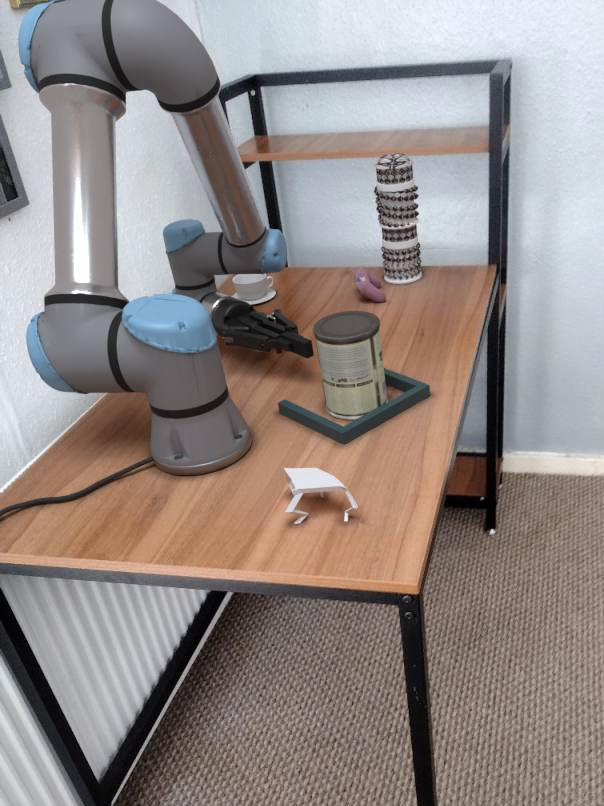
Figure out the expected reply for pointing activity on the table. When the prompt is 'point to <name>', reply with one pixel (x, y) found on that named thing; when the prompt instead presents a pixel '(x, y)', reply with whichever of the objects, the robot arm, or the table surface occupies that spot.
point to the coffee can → (351, 363)
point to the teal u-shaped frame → (345, 434)
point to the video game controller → (368, 285)
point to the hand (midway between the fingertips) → (309, 349)
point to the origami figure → (313, 487)
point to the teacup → (253, 288)
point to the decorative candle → (398, 218)
